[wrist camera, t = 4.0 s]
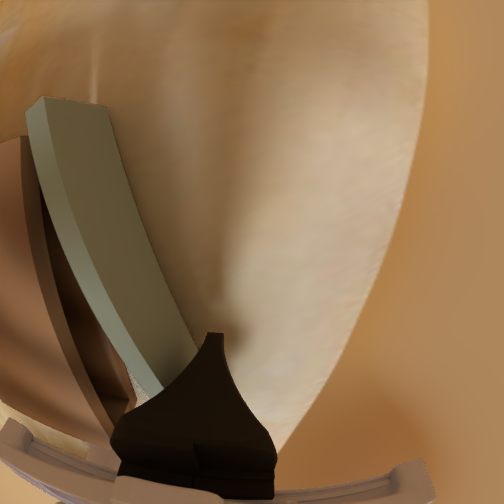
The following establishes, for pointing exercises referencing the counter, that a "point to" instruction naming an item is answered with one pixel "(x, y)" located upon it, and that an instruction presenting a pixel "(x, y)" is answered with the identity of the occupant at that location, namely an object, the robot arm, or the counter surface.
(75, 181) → the cabinet door
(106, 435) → the cabinet
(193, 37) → the counter surface
